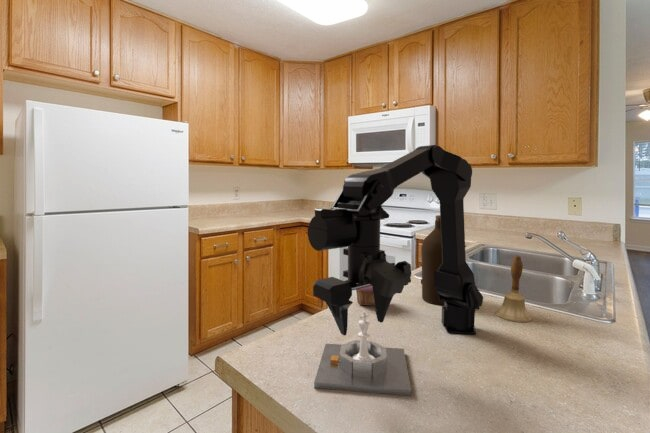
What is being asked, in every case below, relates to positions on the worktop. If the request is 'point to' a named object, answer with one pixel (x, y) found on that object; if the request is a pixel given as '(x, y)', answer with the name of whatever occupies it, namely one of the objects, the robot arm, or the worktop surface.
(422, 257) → the olive oil
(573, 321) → the worktop surface
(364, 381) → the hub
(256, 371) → the worktop surface
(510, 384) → the worktop surface
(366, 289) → the cupcake
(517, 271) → the hand bell
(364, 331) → the chess piece
